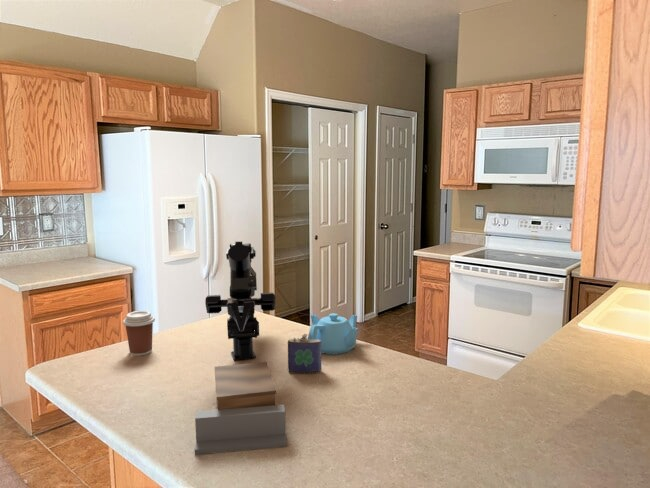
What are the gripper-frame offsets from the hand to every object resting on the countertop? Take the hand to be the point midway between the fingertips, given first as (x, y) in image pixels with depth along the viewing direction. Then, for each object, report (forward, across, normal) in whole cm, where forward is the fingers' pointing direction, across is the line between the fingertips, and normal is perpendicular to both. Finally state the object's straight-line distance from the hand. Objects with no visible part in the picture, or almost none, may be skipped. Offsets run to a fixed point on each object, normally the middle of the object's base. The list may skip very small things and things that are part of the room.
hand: (241, 330), depth 133 cm
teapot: (-3, +28, +21) cm, 35 cm away
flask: (+9, +17, +9) cm, 21 cm away
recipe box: (+24, +1, -6) cm, 25 cm away
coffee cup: (-7, -31, +25) cm, 41 cm away
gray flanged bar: (+32, 0, -15) cm, 36 cm away
